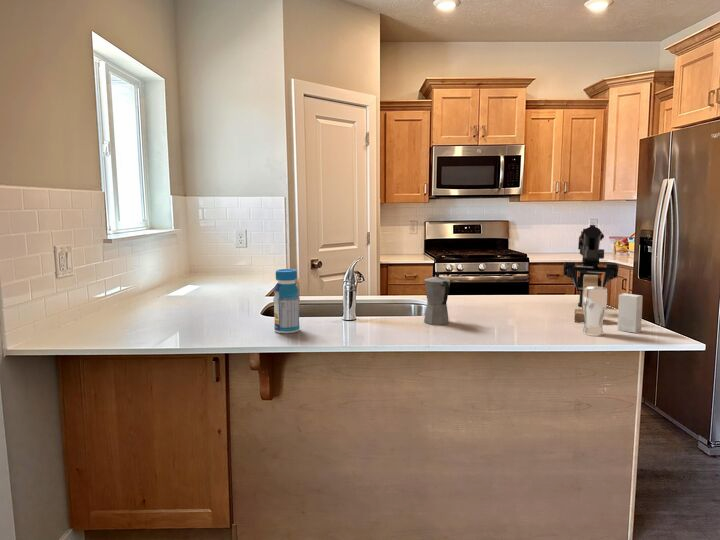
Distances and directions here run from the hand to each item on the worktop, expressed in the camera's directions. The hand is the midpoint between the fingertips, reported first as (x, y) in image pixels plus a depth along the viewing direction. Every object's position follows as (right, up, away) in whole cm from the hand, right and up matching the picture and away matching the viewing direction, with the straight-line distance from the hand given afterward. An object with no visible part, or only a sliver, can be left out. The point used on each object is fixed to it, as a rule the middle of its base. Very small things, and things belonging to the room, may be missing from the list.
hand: (589, 287), depth 188 cm
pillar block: (-3, -8, -6) cm, 11 cm away
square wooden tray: (-3, -12, -6) cm, 13 cm away
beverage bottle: (-109, -13, -22) cm, 112 cm away
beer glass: (-10, -14, -25) cm, 30 cm away
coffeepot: (-58, -12, -11) cm, 60 cm away
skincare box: (+3, -14, -21) cm, 25 cm away
